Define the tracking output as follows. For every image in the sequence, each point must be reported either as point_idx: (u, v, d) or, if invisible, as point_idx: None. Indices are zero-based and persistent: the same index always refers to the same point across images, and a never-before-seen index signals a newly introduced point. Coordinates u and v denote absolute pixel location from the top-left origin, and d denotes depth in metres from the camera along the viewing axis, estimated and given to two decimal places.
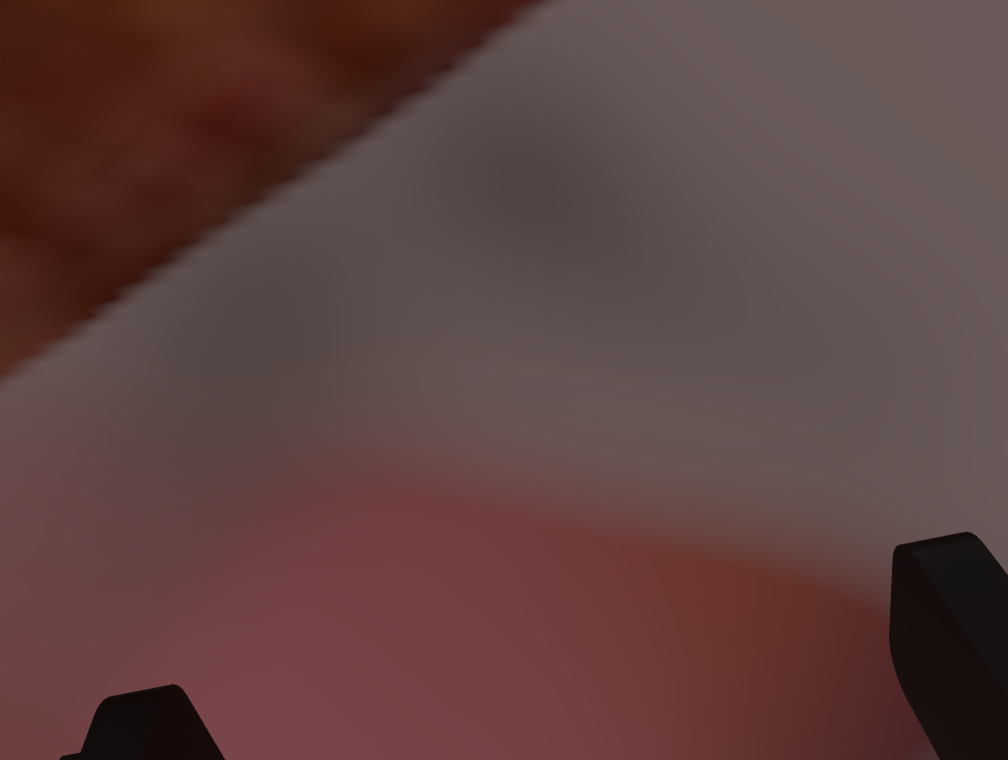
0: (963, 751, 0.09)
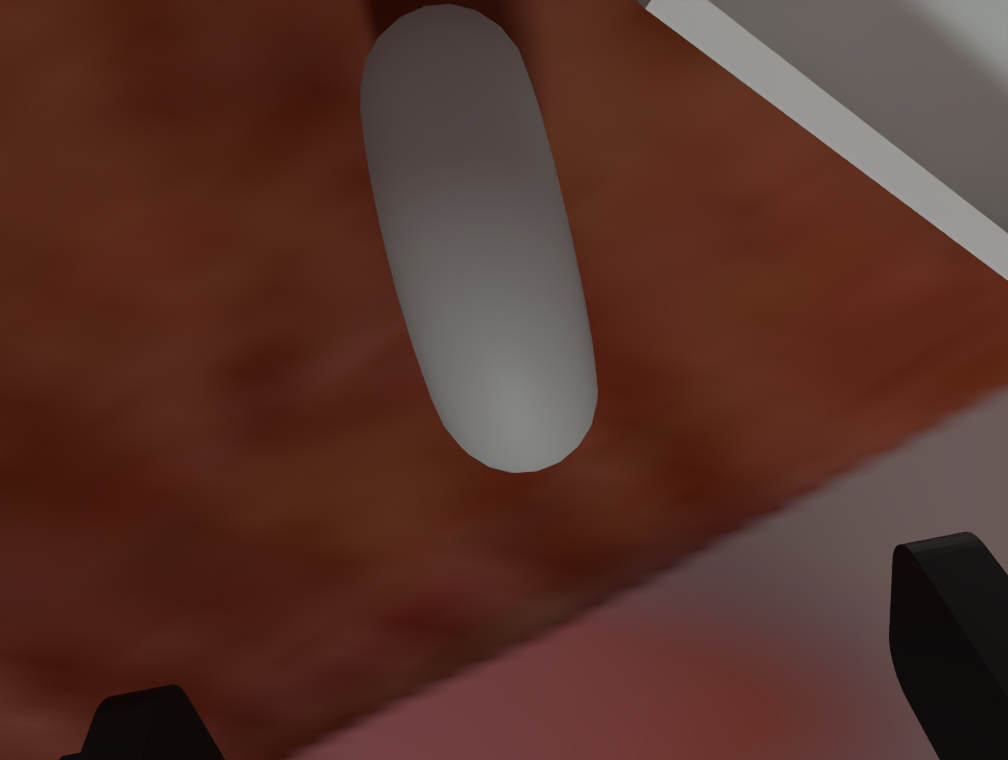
0: (963, 751, 0.09)
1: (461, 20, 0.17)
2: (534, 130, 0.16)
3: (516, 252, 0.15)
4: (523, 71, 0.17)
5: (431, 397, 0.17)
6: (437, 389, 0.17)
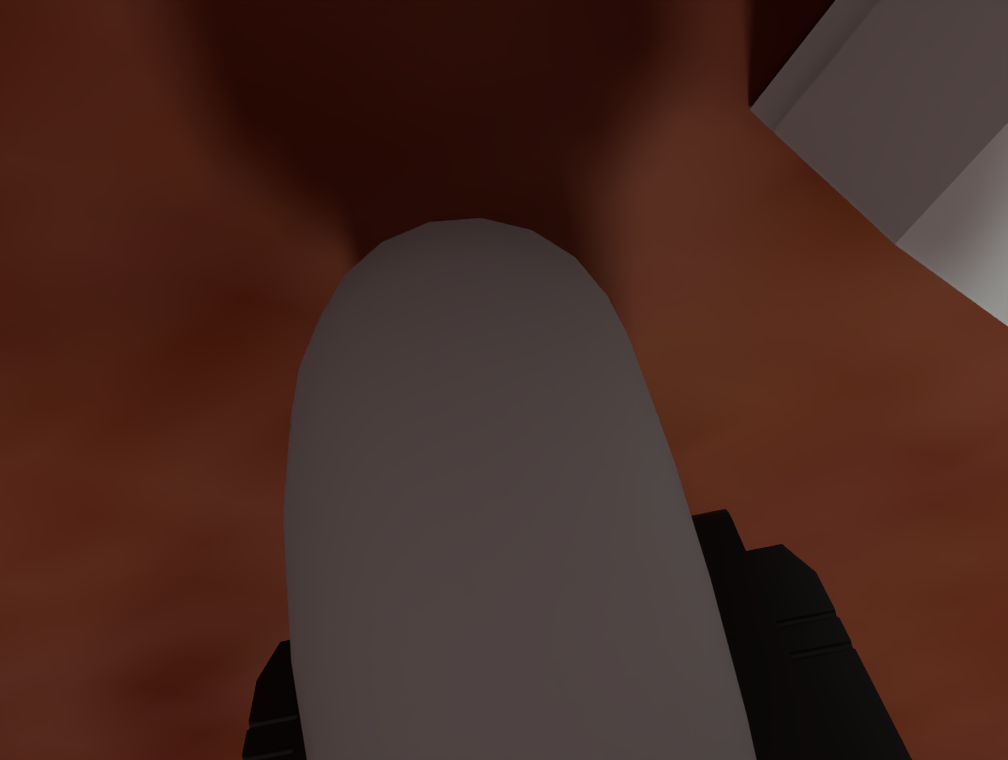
0: None
1: (511, 312, 0.07)
2: (700, 623, 0.06)
3: None
4: (655, 429, 0.07)
5: None
6: None
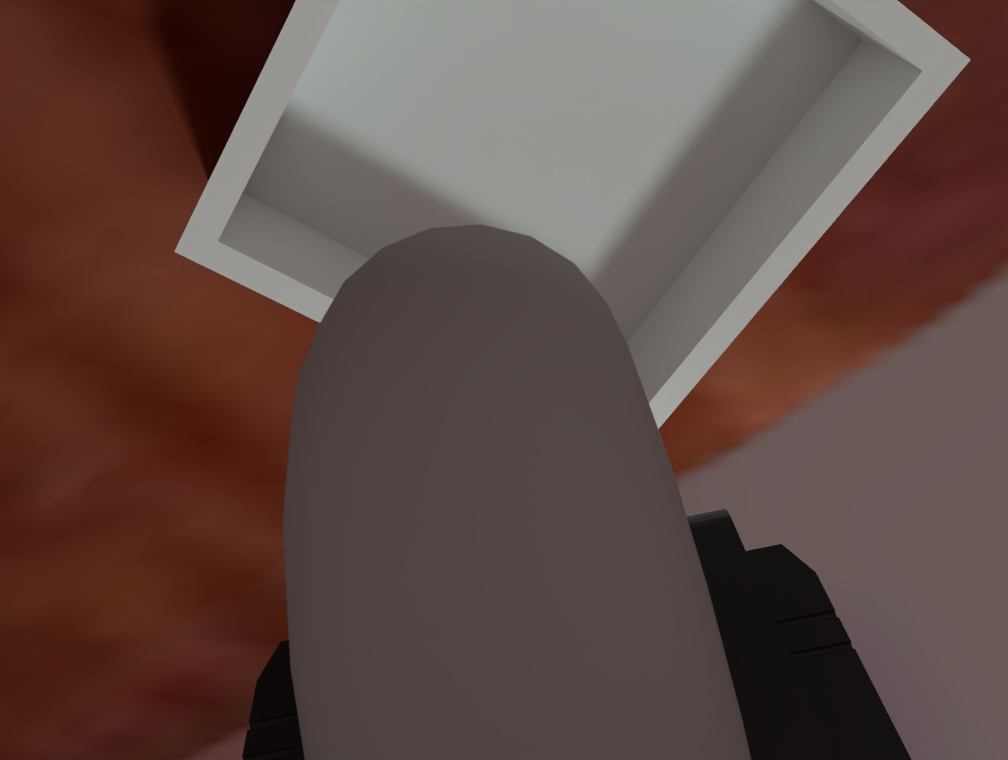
0: None
1: (510, 320, 0.07)
2: (696, 630, 0.06)
3: None
4: (653, 436, 0.07)
5: None
6: None
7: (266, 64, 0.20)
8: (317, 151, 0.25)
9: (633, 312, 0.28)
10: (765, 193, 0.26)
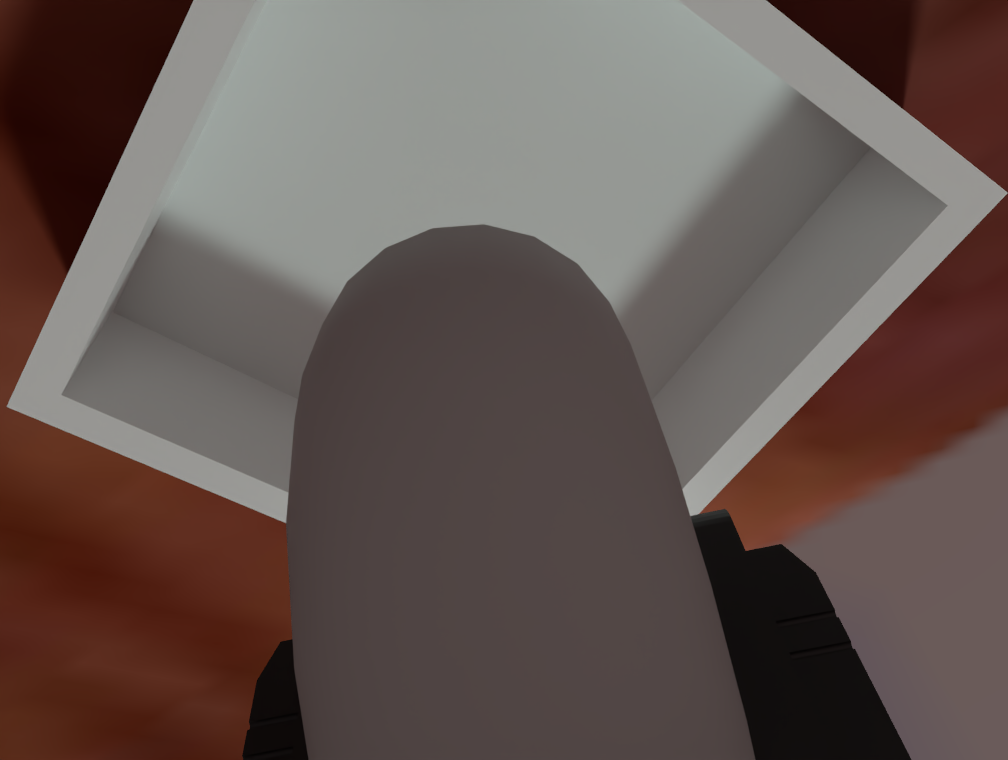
0: None
1: (514, 320, 0.07)
2: (701, 631, 0.06)
3: None
4: (657, 437, 0.07)
5: None
6: None
7: (108, 189, 0.16)
8: (203, 266, 0.20)
9: None
10: (749, 325, 0.21)
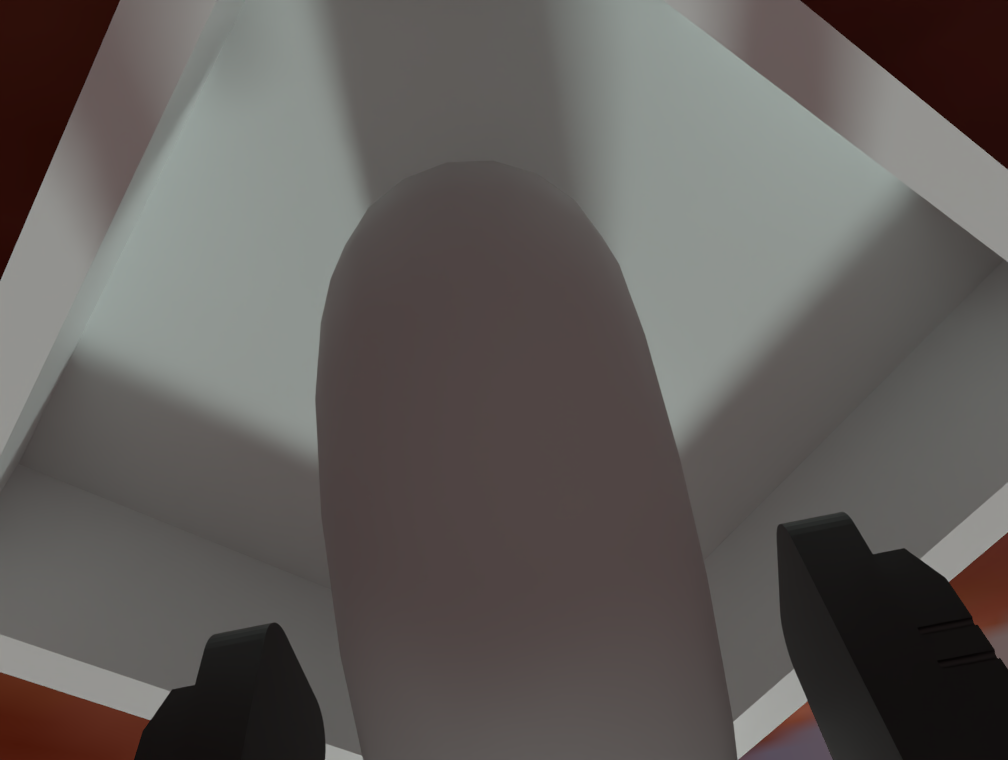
0: (832, 716, 0.09)
1: (520, 229, 0.08)
2: (670, 486, 0.08)
3: None
4: (639, 333, 0.08)
5: None
6: None
7: None
8: (134, 409, 0.16)
9: None
10: (840, 481, 0.16)
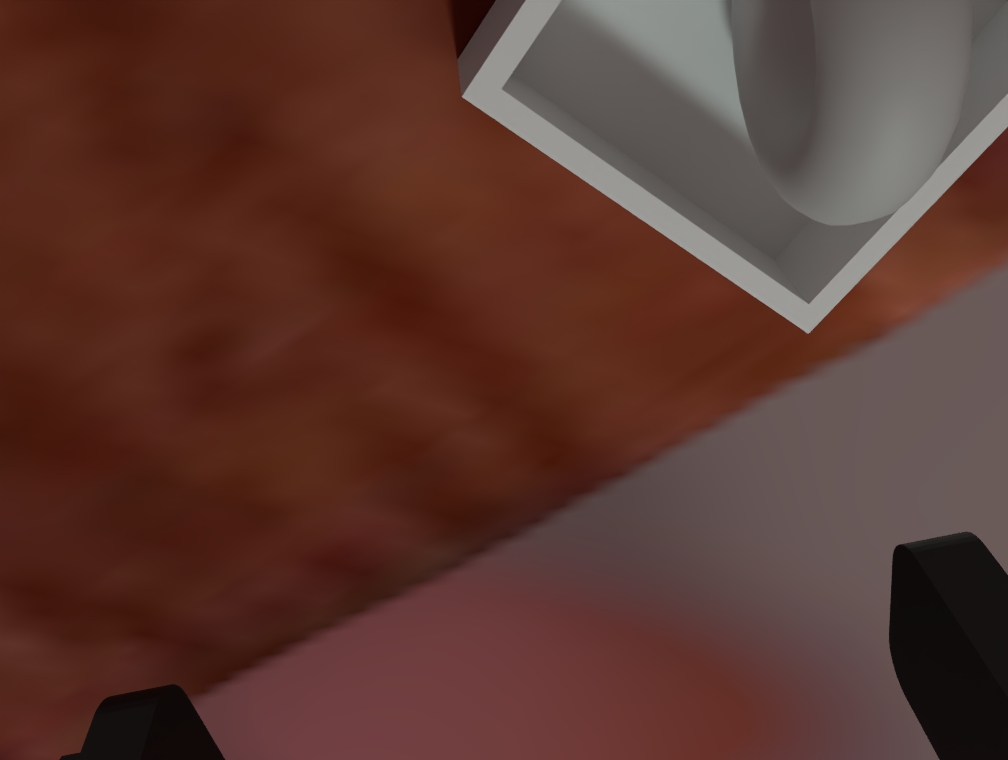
0: (963, 751, 0.09)
1: None
2: None
3: None
4: None
5: (828, 129, 0.21)
6: (848, 114, 0.21)
7: None
8: (566, 25, 0.28)
9: None
10: None
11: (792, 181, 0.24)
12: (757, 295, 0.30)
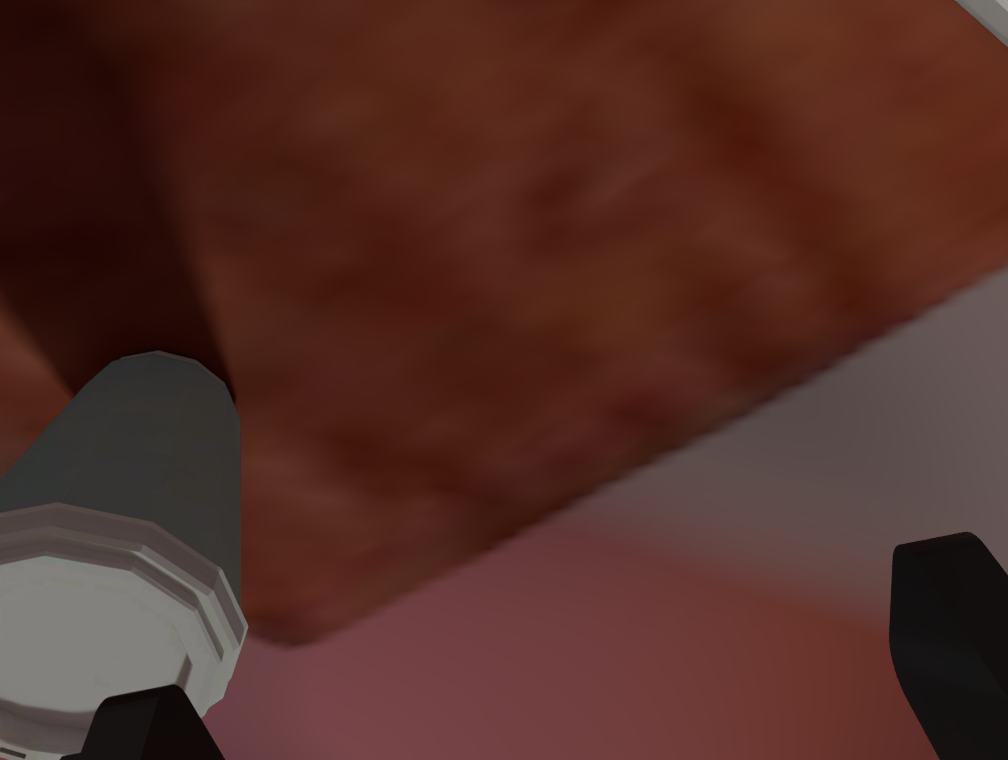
0: (963, 751, 0.09)
1: None
2: None
3: None
4: None
5: None
6: None
7: None
8: None
9: None
10: None
11: None
12: None
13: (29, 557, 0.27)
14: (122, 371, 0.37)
